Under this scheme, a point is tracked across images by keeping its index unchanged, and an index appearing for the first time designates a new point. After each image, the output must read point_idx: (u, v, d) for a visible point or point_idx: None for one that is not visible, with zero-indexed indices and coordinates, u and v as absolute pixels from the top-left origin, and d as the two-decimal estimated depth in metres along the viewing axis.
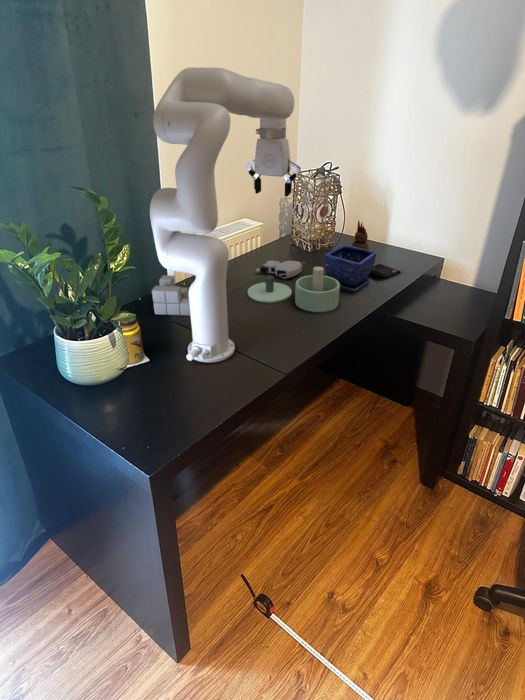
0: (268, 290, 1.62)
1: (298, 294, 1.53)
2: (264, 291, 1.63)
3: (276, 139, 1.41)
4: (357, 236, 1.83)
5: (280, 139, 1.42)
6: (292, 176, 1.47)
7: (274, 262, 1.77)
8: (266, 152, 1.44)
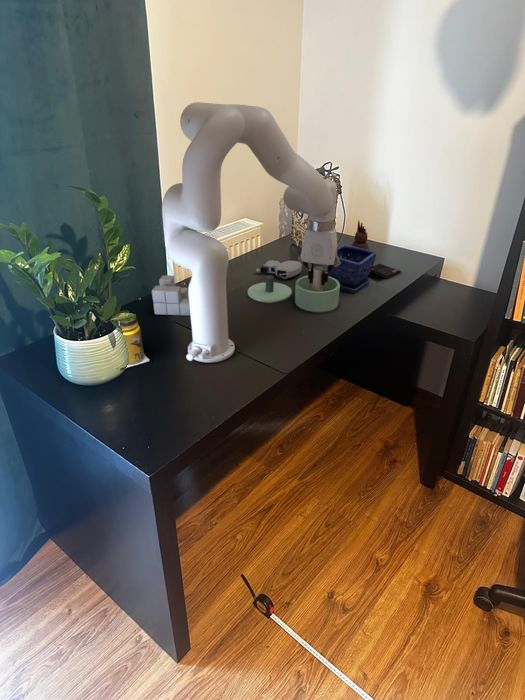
0: (268, 290, 1.62)
1: (298, 294, 1.53)
2: (264, 291, 1.63)
3: (325, 231, 1.42)
4: (357, 236, 1.83)
5: (329, 231, 1.42)
6: (329, 267, 1.49)
7: (274, 262, 1.77)
8: (314, 242, 1.45)
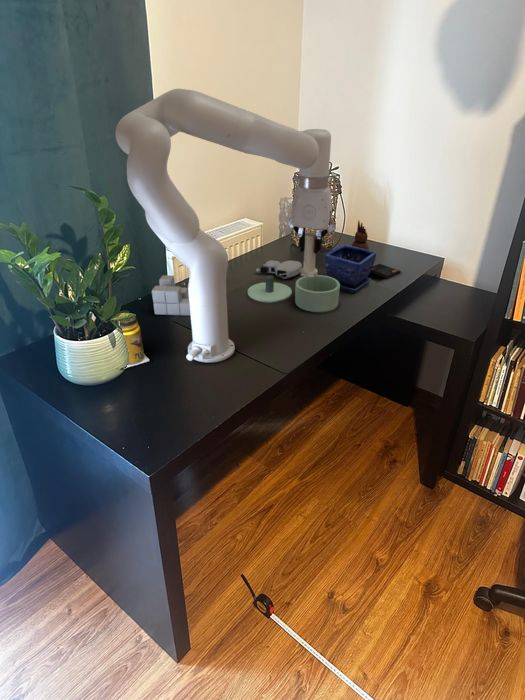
0: (268, 290, 1.62)
1: (298, 294, 1.53)
2: (264, 291, 1.63)
3: (318, 189, 1.24)
4: (357, 236, 1.83)
5: (322, 189, 1.24)
6: (323, 232, 1.31)
7: (274, 262, 1.77)
8: (305, 202, 1.27)
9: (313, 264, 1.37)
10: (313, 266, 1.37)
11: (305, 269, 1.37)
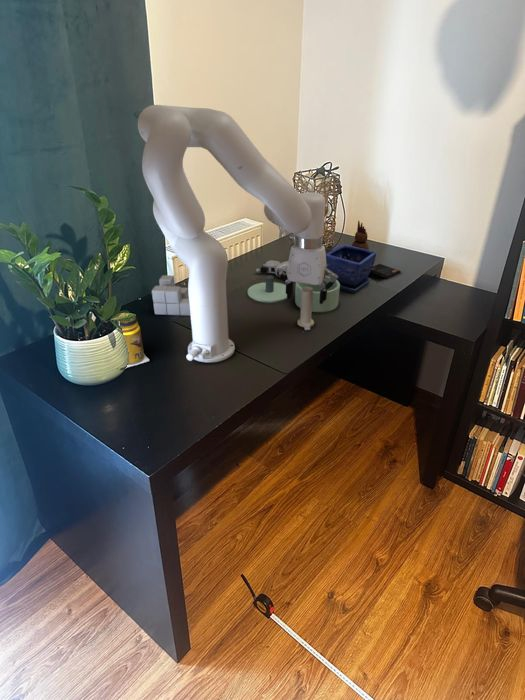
0: (268, 290, 1.62)
1: (298, 294, 1.53)
2: (264, 291, 1.63)
3: (313, 249, 1.30)
4: (357, 236, 1.83)
5: (317, 248, 1.30)
6: (328, 284, 1.35)
7: (274, 262, 1.77)
8: (301, 260, 1.33)
9: (309, 316, 1.43)
10: (309, 319, 1.43)
11: (302, 321, 1.44)
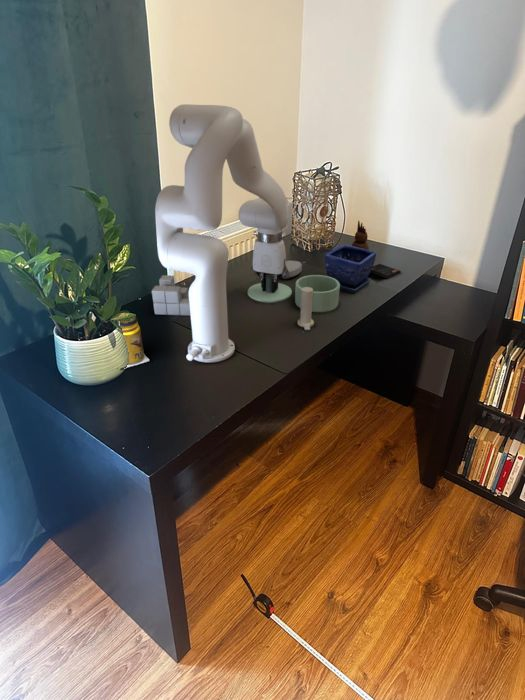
0: (268, 290, 1.62)
1: (298, 294, 1.53)
2: (264, 291, 1.63)
3: (272, 243, 1.51)
4: (357, 236, 1.83)
5: (276, 242, 1.51)
6: (278, 276, 1.58)
7: None
8: (263, 253, 1.54)
9: (309, 316, 1.43)
10: (309, 319, 1.43)
11: (302, 321, 1.44)
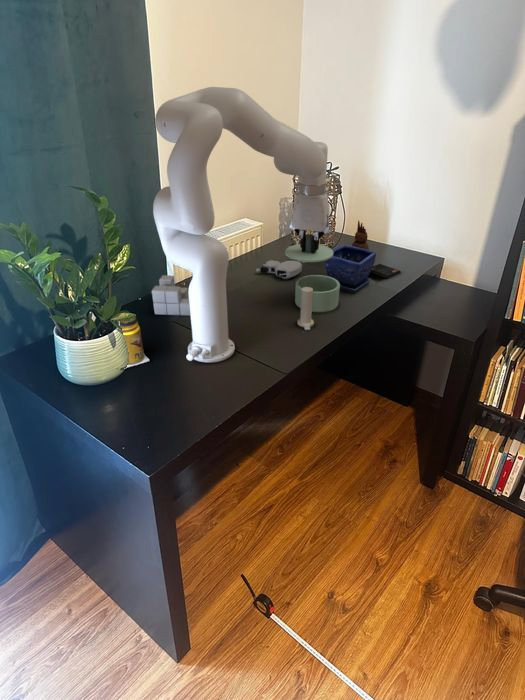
0: (308, 250, 1.49)
1: (298, 294, 1.53)
2: None
3: (316, 195, 1.38)
4: (357, 236, 1.83)
5: (320, 195, 1.38)
6: (320, 234, 1.45)
7: (274, 262, 1.77)
8: (305, 207, 1.41)
9: (309, 316, 1.43)
10: (309, 319, 1.43)
11: (302, 321, 1.44)
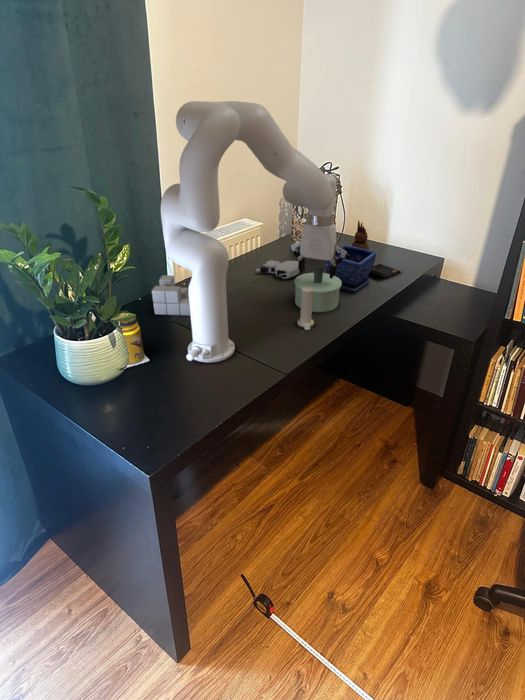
0: (317, 280, 1.52)
1: (298, 294, 1.53)
2: (312, 282, 1.53)
3: (324, 226, 1.41)
4: (357, 236, 1.83)
5: (328, 226, 1.41)
6: (338, 260, 1.46)
7: (274, 262, 1.77)
8: (313, 237, 1.44)
9: (309, 316, 1.43)
10: (309, 319, 1.43)
11: (302, 321, 1.44)
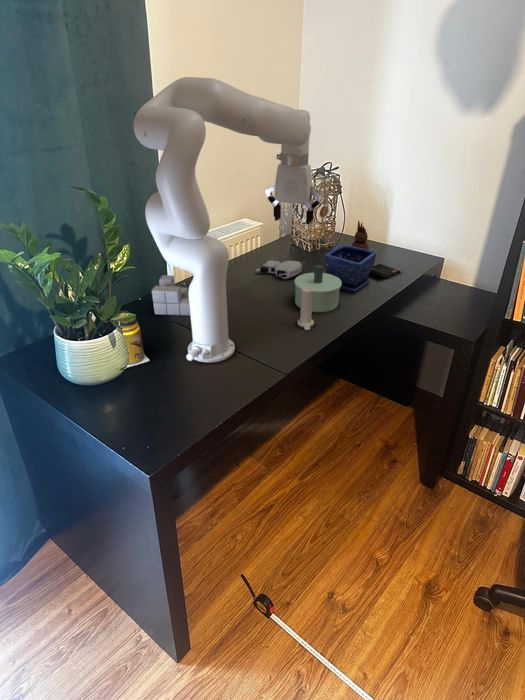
0: (317, 280, 1.52)
1: (298, 294, 1.53)
2: (312, 282, 1.53)
3: (298, 165, 1.33)
4: (357, 236, 1.83)
5: (302, 165, 1.34)
6: (314, 203, 1.39)
7: (274, 262, 1.77)
8: (287, 179, 1.37)
9: (309, 316, 1.43)
10: (309, 319, 1.43)
11: (302, 321, 1.44)
